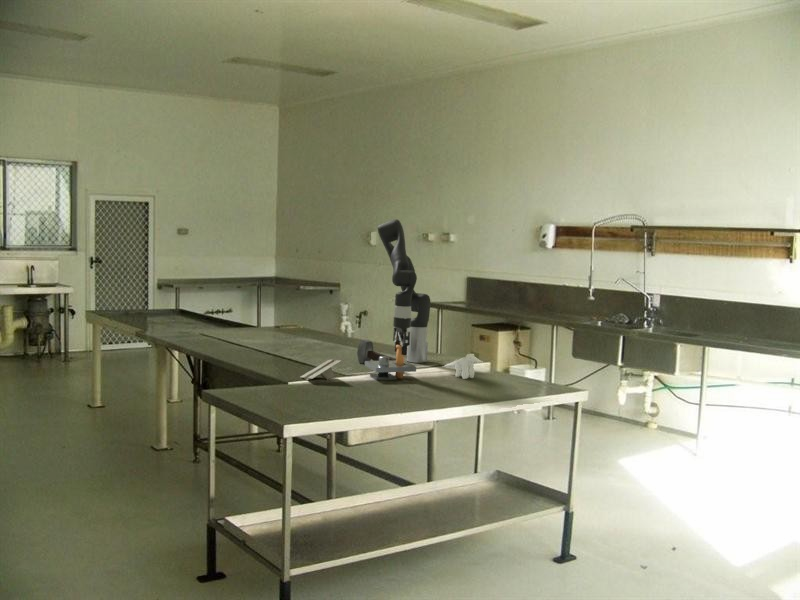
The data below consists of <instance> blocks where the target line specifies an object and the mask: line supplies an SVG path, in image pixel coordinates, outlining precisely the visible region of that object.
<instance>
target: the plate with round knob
mask: <svg viewBox="0 0 800 600" xmlns="http://www.w3.org/2000/svg"><path fill="white" fill-rule="evenodd" d="M386 356H387V355H386ZM386 356H380V357H379V361H373V360H371V361H365V364H364V366H365V367H366V368H368V369H370V370H372V371H373V372H375V373H369V376H370V378H373V379H374V380H375V381H386V380H387V381H390V380H393V381H394V380H397V379H398V378H397V377H395V375H393V374H391V373H396V372H403V373H407V372H408V373H411V372H413V373H414V372H417V366H416V365H413V364H411V363H410V362H408V361H406V360H404V365H396V361H389V357H390V356H389V357H386Z"/></svg>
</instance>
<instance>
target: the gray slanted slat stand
mask: <svg viewBox="0 0 800 600" xmlns="http://www.w3.org/2000/svg"><path fill="white" fill-rule="evenodd" d="M341 361H342V360H340V359H336V360H334V359H328V360H326V361H324V362H323V363H321V364H319V365H317V366H316V367H314V368H313V369H311V370H309V371H307V372H306V373H304V374H303V375H300V376H299V377H300V378H303V379H304V380H306V381H307V380H308V381H309V380H312V379H313V380H314V378H316V377H317V376H318V375H320V376H321V377H322V378H323V379H324V380H329V379H331V378H333V377H334V376H335V372H334V370H333V369H332V367H334V366H335V365H336V364H339V362H341Z"/></svg>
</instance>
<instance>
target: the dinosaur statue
mask: <svg viewBox="0 0 800 600" xmlns="http://www.w3.org/2000/svg"><path fill="white" fill-rule="evenodd" d="M483 362H484V361H483V360H481V359H479V358H478V357H476V356H475V354H474V353H467V354H466V355H465V356H463V357H461V358H459V359H458V358H455V359H454V360H453V361H451V362H449V363H448V362H447V363H446V364H445V365H442V368H447V369H453V370H455V377H456V378H460V377H461V379H463V380H467V379H474V376H475V367H474V364H475V363H476V364H477V363H478V364H483Z"/></svg>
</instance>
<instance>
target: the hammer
mask: <svg viewBox="0 0 800 600" xmlns="http://www.w3.org/2000/svg"><path fill="white" fill-rule="evenodd" d="M356 355H357V361H358V363H359V364H363V365H365V361H379V357H380V356H386V357H389V361H396V358H394V357H393V356H392V357H391V356H388V355H386V354H383V353H380V352H377V351H374V344H373V341H372V340H370V339H361V341H360V342H359V344H358V347H357V352H356Z"/></svg>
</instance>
